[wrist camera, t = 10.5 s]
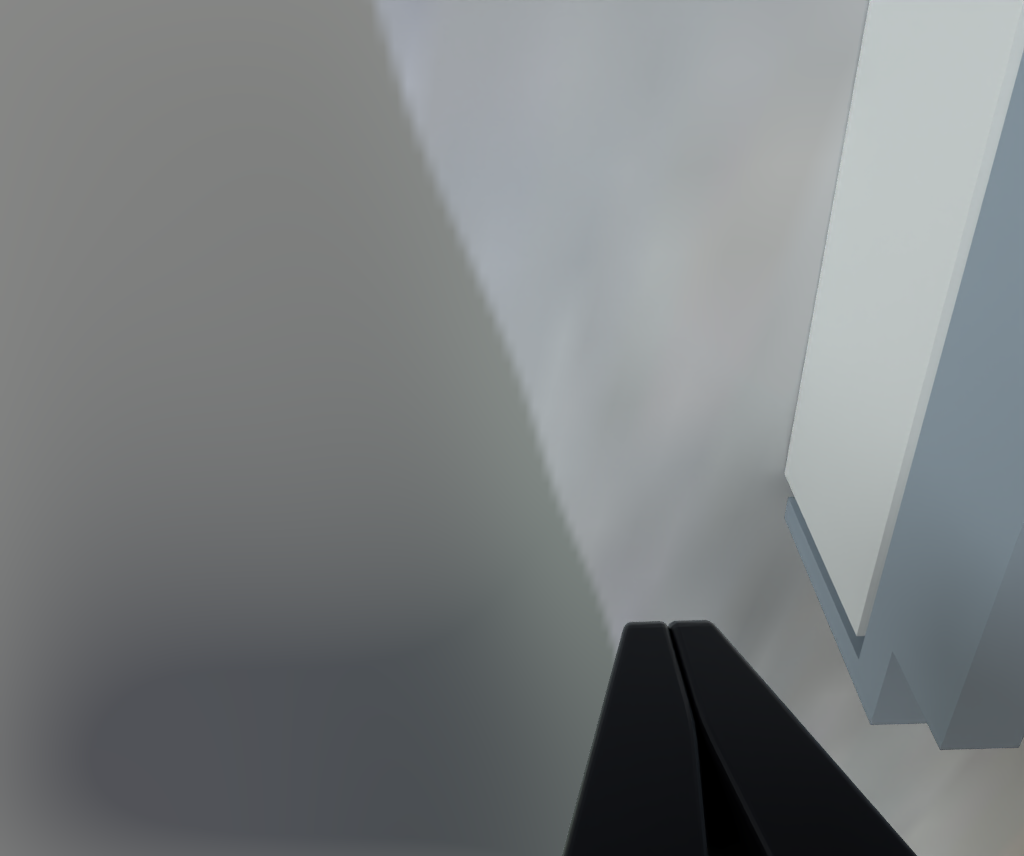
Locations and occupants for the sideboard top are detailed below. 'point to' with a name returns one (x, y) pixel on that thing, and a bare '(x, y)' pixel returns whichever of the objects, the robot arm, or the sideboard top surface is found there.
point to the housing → (895, 267)
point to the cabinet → (957, 509)
